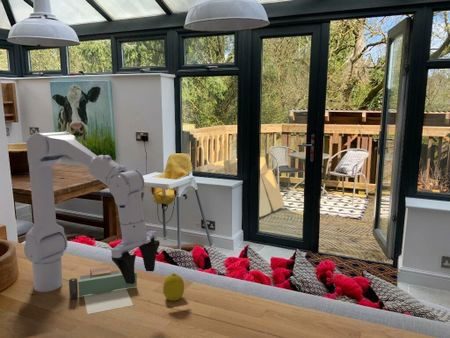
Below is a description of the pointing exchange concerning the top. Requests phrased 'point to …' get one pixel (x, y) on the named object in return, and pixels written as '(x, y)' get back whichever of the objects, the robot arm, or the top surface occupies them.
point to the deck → (106, 299)
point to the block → (99, 271)
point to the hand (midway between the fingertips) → (140, 276)
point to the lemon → (173, 287)
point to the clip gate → (104, 284)
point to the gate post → (73, 289)
